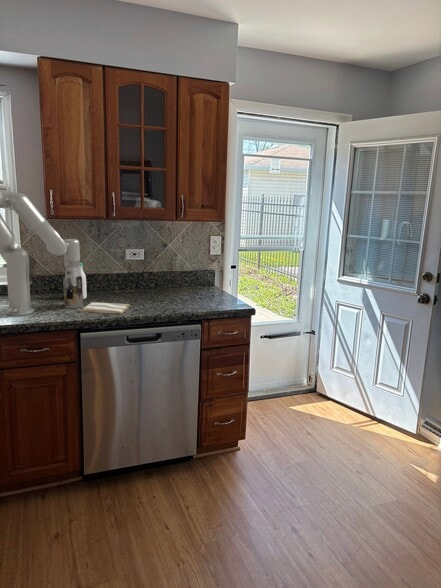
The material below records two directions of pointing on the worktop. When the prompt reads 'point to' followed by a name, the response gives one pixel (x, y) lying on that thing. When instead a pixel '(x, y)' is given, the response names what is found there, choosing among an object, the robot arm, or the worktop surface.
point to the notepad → (105, 308)
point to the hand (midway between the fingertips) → (73, 296)
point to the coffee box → (74, 295)
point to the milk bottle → (83, 281)
